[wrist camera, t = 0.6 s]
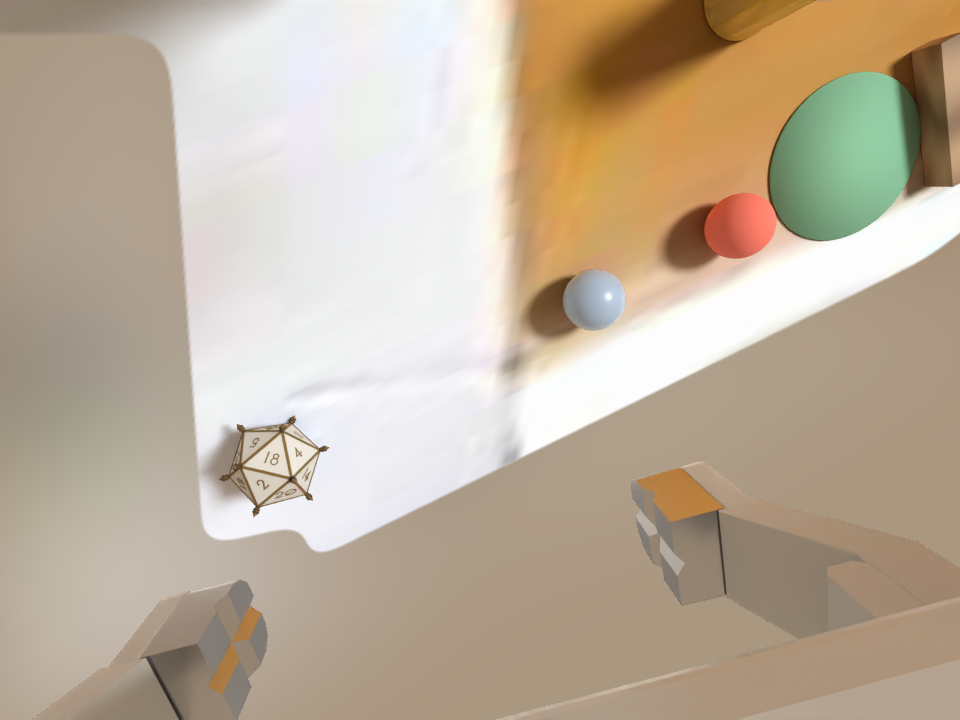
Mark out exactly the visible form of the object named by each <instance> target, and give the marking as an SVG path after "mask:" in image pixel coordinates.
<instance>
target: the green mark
mask: <svg viewBox="0 0 960 720" xmlns="http://www.w3.org/2000/svg"><path fill="white" fill-rule="evenodd" d="M920 135H921V128H920V118H919V113H918V109H917V107H916V104H915V101H914V100H913V98H912V96H911V94H910V93H909V92H908V90H907V89H906V88H905V87H904V86H903V85H902V84H901V83H900V82H899V81H897V80H896V79H894V78H892V77H890V76H888V75H885V74H882V73H876V72H858V73H853V74H848V75H845V76H842V77H839V78H837V79H835V80H833V81H831V82H829V83H827V84H825V85H824V86H822V87H821V88H819V89H818V90H817V91H815V92H814V93H813V94H812V95H810V96H809V97H808V98H807V99H806V100H805V101H804V102H803V103H802V104H801V105H800V106H799V107H798V109H797V110H796V111H795V112H794V114H793V115H792V116H791V118H790V119H789V121H788V122H787V124H786V125H785V127H784V129H783V131H782V133H781V135H780V137H779V139H778V142H777V144H776V147H775V150H774V153H773V157H772V161H771V167H770V178H769V182H770V193H771V198H772V202H773V205H774V208H775V210H776V212H777V214H778V216H779V217H780V219H781V220H782V222H783V223H784V224H785V225H786V226H787V227H788V228H789V229H790V230H792V231H793V232H795V233H796V234H798V235H801V236H803V237H806V238H809V239H814V240H834V239H839V238H843V237H846V236H849V235H852V234H854V233H856V232H858V231H860V230H862V229H863V228H865V227H867V226H868V225H870V224H871V223H872V222H874V221H875V220H877V219H878V218H879V217H880V216H881V215H882V214H883V213H884V212H885V211H886V210H887V209H888V208H889V207H890V206H891V205H892V204H893V203H894V201H895V200H896V199H897V197H898V196H899V195H900V193H901V192H902V190H903V188H904V187H905V185H906V183H907V181H908V179H909V177H910V175H911V173H912V171H913V168H914V165H915V163H916V159H917V155H918V151H919V145H920Z"/></svg>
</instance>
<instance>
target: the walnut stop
mask: <svg viewBox="0 0 960 720" xmlns="http://www.w3.org/2000/svg"><path fill="white" fill-rule="evenodd" d="M911 56H912V65H913V75H914V85H915V94H916V104H917V109H918V113H919V118H920V128H921V135H920V142H921V151H922V161H923V170H924V180H925V186H935V187H953V186H955V185H957V184H959V183H960V33H956V34H953V35H949V36H946V37H942V38H939V39H935V40H933V41H931V42H929V43H927V44H925V45H923V46H921V47H920V48H918V49H916V50H914V51H912V52H911Z"/></svg>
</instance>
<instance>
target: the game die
mask: <svg viewBox="0 0 960 720" xmlns="http://www.w3.org/2000/svg"><path fill="white" fill-rule="evenodd" d="M295 421H296V419H295V416H293V417H292V418H290V423H288V424H281V425H275V426H269V427H262V428H256V429H250V430H245V429H244V427H243V425H238V424H237V430H239V431H241V432H242V436H241V439H240V442H239V445H238V448H237V451H236V454H235V457H234V460H233V464H232V467H231V470H230V473H229V475H225V476H224V475H223V476H222V477H221V478H220V479H219V480H222V481H225V480H228V479H231V480H232V481H233V482H234V483H235V484H236V485H237V486H238V487H239V489H240V490H241V491H242V492H243V493H244V494H245V495H246V496H247V497H248V498H249V499H250V500H251V501H252V502H253V504H254V505H255V506H256V507H255V508H254V509H253V511H252V512H253V516H254V517H255V516H256V515H257V514H259V511H260V510H259V508H260V507H262V506H266V505H270V504H274V503H277V502H281V501H285V500H288V499H292V498H296V497H299V496H303V495H305V496H306V498H307V500H312V501H313V499H312V495H310V494H309V493H308V489H309V486H310V483H311V479H312V476H313V473H314V470H315V467H316V463H317V460H318V457H319V454H320V452H324V451H326V450H327V449H328V448H329V447H326V446H323V447H321V448H318V447H317V446H316V445H315V444H314V443H313V442H312V441H311V440H309V439H308V438H307V437H306V436H305V435H304V434H303V433H302V432H301V431H300V430H299V429H298V428H296V427H295V426H294V425H293V424H294V423H295Z"/></svg>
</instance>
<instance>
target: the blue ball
mask: <svg viewBox="0 0 960 720" xmlns="http://www.w3.org/2000/svg"><path fill="white" fill-rule="evenodd" d="M625 303H626V296H625V291H624V288H623V286H622V284H621V282H620V281H619V280H618V279H617V278H616V277H615V276H614V275H613V274H611V273H609V272H607V271H604V270H600V269H591V270H586V271H583V272H581V273H579V274H578V275H576V276H575V277H574V278H573V279H572V280H571V281H570V282H569V283H568V285H567V287H566V289H565V291H564V295H563V307H564V311H565V313H566V315H567V317H568V318H569V320H570V321H571V322H572V323H573V324H575V325H576V326H578V327H580V328H582V329H585V330H590V331H596V330H602V329H605V328H607V327H609V326H611V325H612V324H614V323H615V322H616V321H617V320H618V319H619V317H620V316H621V314H622V312H623V310H624V307H625Z"/></svg>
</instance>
